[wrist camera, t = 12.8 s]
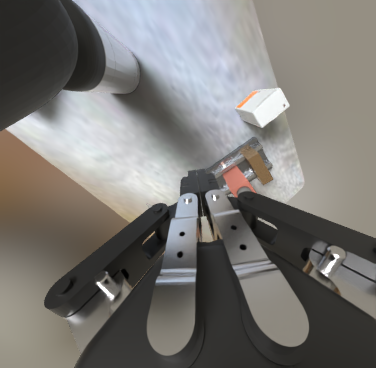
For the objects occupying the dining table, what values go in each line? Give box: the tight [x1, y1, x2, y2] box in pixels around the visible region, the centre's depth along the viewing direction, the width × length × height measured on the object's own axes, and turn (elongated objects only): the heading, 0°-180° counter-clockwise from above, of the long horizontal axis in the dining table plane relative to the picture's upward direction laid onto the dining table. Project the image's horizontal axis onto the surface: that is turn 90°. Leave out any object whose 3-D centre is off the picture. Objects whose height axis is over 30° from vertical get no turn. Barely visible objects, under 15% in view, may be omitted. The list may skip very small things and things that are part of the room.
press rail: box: [197, 137, 273, 206], centre depth 45 cm, size 26×12×8 cm, turn 129°
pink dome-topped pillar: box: [222, 166, 256, 198], centre depth 41 cm, size 5×5×11 cm
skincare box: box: [235, 88, 290, 128], centre depth 32 cm, size 6×4×12 cm
